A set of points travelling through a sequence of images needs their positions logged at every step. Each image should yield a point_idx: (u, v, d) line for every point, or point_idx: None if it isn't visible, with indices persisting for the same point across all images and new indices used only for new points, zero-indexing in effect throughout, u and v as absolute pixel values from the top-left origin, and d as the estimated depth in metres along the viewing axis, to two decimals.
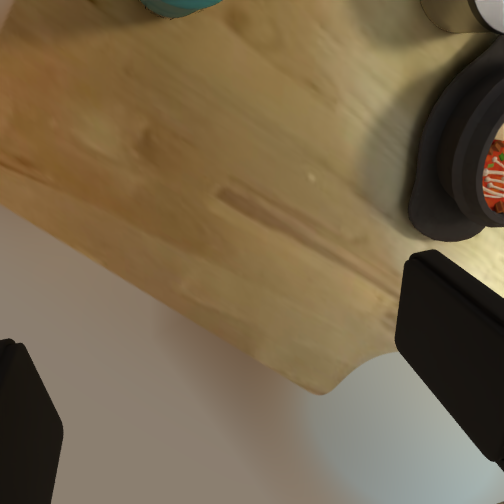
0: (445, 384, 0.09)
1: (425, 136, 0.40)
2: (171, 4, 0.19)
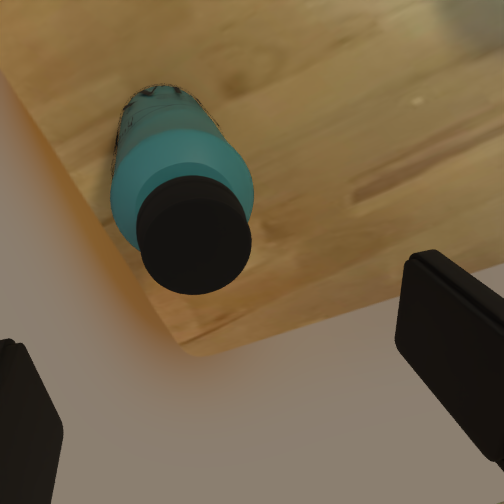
0: (445, 384, 0.09)
1: None
2: None
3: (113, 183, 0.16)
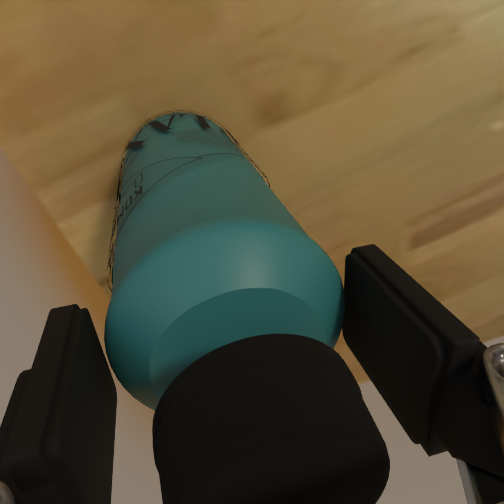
0: (380, 372, 0.10)
1: None
2: None
3: (109, 317, 0.09)
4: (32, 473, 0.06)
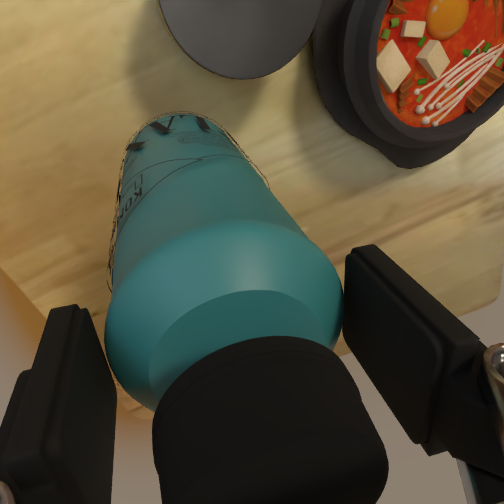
0: (380, 372, 0.10)
1: (346, 125, 0.38)
2: None
3: (109, 319, 0.09)
4: (32, 473, 0.06)
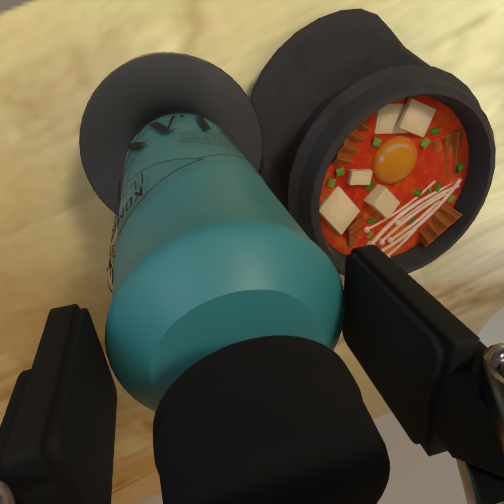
0: (380, 372, 0.10)
1: None
2: None
3: (110, 319, 0.09)
4: (32, 473, 0.06)
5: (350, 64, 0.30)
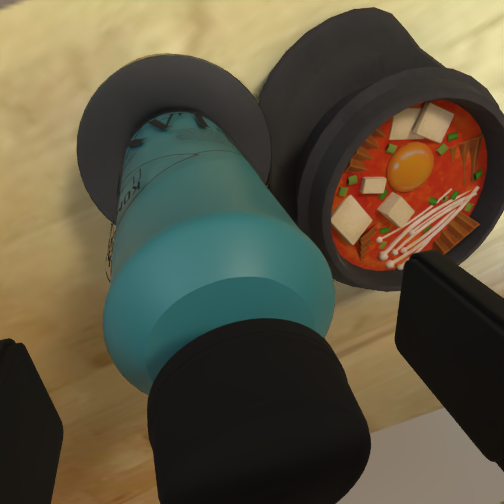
0: (445, 384, 0.09)
1: None
2: None
3: (107, 305, 0.09)
4: None
5: (363, 66, 0.28)
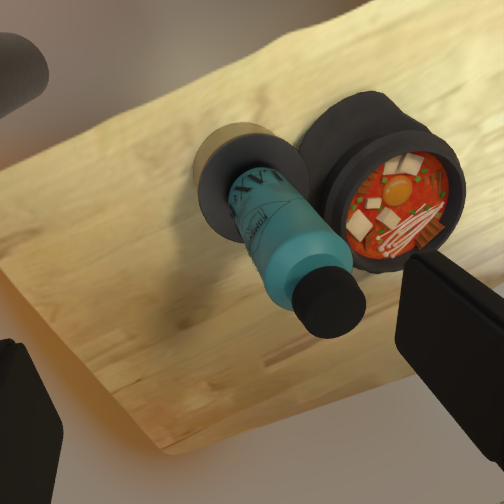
0: (445, 384, 0.09)
1: None
2: None
3: (269, 265, 0.25)
4: None
5: (365, 126, 0.44)
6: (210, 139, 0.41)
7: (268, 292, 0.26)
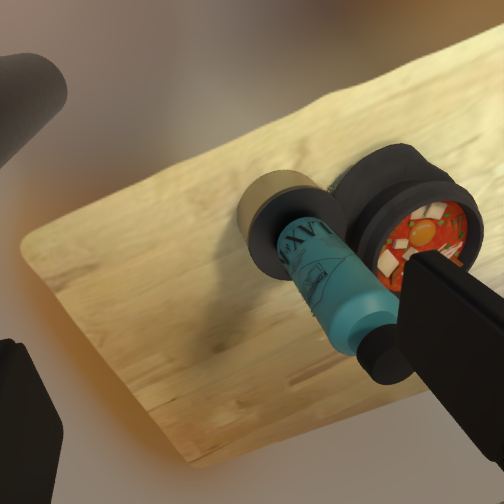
0: (445, 384, 0.09)
1: None
2: None
3: (334, 319, 0.29)
4: None
5: (394, 173, 0.49)
6: (256, 186, 0.46)
7: (331, 341, 0.30)
